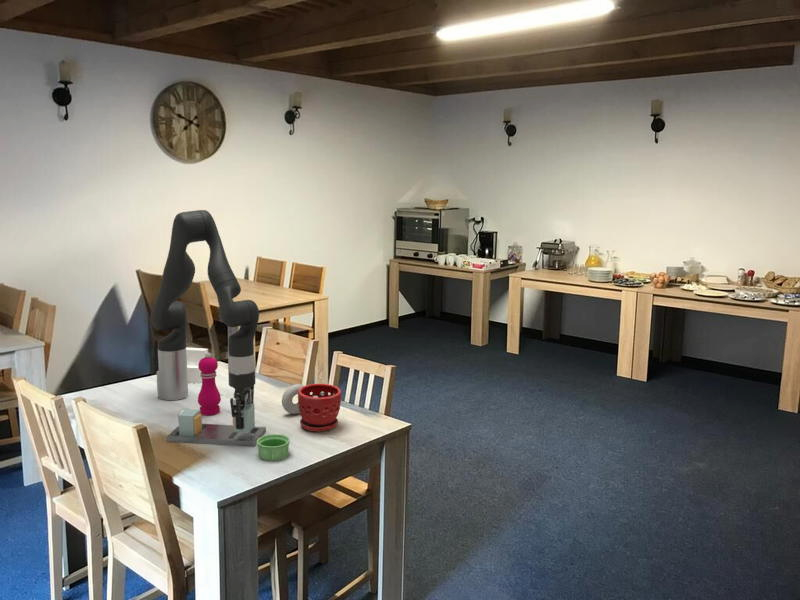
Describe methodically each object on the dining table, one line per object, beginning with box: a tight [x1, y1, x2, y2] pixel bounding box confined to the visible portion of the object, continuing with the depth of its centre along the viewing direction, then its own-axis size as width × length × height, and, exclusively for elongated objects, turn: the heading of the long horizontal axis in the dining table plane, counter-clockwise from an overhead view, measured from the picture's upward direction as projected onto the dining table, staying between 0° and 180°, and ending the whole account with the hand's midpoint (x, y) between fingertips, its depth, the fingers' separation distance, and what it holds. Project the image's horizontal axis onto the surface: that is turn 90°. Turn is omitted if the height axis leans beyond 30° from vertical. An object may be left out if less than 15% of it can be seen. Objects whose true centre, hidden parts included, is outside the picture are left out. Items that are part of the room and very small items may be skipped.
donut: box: [281, 383, 305, 415], centre depth 212 cm, size 10×3×10 cm, turn 126°
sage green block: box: [177, 408, 203, 436], centre depth 193 cm, size 5×5×7 cm
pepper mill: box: [197, 352, 222, 416], centre depth 211 cm, size 7×7×20 cm
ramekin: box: [256, 433, 291, 461], centre depth 181 cm, size 9×9×4 cm
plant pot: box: [297, 383, 342, 433], centre depth 201 cm, size 13×13×12 cm
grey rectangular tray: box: [166, 423, 267, 448], centre depth 193 cm, size 26×11×2 cm, turn 84°
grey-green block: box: [232, 403, 256, 434], centre depth 191 cm, size 5×5×7 cm
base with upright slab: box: [186, 346, 209, 385], centre depth 244 cm, size 9×9×12 cm
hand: (243, 424), depth 191 cm, fingers closed on grey-green block, 5 cm apart
